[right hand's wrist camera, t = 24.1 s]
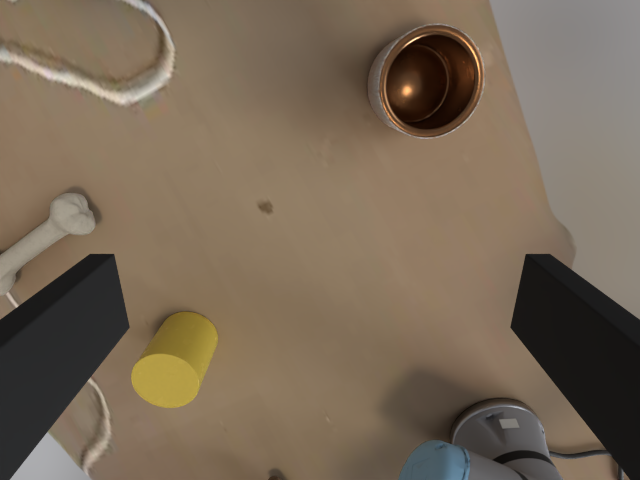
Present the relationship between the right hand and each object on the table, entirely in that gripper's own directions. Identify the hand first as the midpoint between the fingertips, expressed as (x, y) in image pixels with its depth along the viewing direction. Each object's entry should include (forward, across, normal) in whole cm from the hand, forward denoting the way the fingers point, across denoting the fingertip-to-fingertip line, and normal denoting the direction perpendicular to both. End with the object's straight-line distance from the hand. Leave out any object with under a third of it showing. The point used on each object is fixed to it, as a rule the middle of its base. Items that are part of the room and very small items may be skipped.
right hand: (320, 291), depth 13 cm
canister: (+40, -20, -30) cm, 54 cm away
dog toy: (+40, -39, -14) cm, 58 cm away
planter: (+40, +11, +6) cm, 42 cm away
